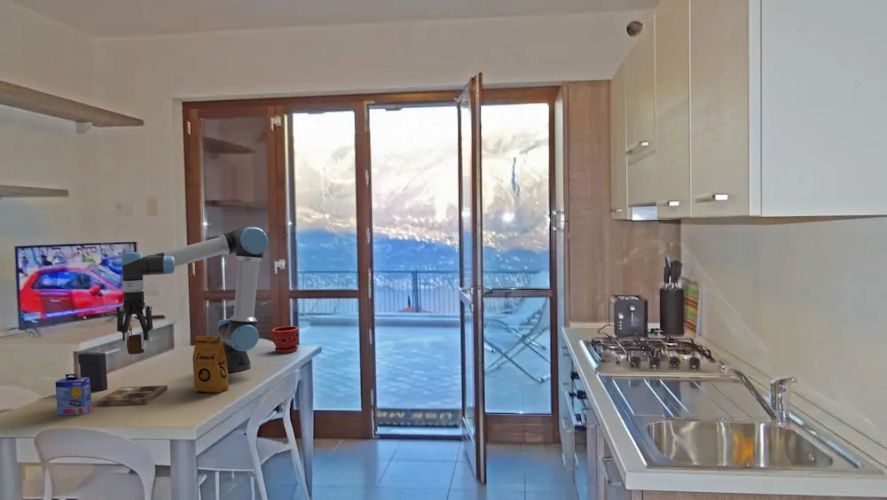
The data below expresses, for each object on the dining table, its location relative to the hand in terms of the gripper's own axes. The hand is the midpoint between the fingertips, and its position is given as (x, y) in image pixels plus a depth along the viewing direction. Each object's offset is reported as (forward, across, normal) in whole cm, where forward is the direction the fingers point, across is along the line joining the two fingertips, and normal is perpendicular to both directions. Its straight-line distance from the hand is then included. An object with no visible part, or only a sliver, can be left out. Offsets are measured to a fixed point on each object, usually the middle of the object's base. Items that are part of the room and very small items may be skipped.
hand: (136, 348), depth 261 cm
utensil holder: (+2, 0, 0) cm, 2 cm away
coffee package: (+17, +31, -3) cm, 36 cm away
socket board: (+17, +3, -10) cm, 20 cm away
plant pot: (+17, +42, +73) cm, 86 cm away
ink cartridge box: (+18, -9, -28) cm, 35 cm away
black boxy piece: (+18, -20, +5) cm, 27 cm away
